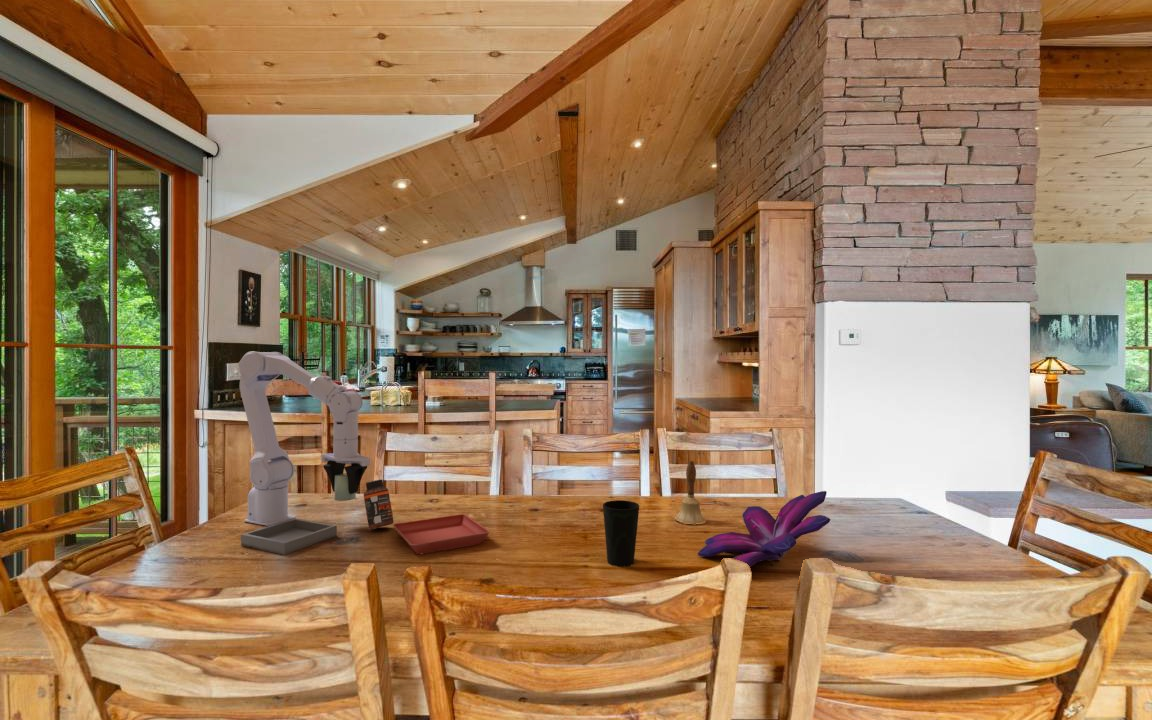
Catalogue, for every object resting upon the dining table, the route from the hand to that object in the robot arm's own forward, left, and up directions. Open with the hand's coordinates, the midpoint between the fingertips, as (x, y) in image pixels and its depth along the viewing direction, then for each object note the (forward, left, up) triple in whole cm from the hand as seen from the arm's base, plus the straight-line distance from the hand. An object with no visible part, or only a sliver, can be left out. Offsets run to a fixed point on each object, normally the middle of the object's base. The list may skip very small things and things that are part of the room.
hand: (345, 491), depth 139 cm
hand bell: (+79, +42, -9) cm, 90 cm away
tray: (-2, -14, -8) cm, 17 cm away
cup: (+72, +6, -9) cm, 73 cm away
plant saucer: (+29, +1, -9) cm, 31 cm away
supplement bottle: (+12, +1, -8) cm, 14 cm away
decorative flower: (+100, +19, -9) cm, 102 cm away
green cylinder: (0, 0, -2) cm, 2 cm away
